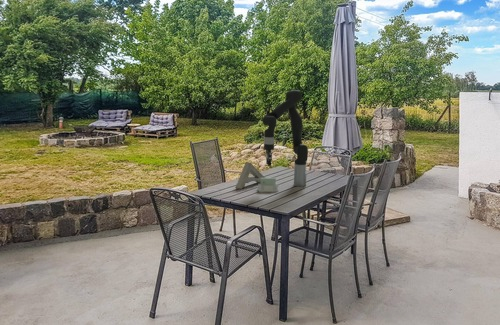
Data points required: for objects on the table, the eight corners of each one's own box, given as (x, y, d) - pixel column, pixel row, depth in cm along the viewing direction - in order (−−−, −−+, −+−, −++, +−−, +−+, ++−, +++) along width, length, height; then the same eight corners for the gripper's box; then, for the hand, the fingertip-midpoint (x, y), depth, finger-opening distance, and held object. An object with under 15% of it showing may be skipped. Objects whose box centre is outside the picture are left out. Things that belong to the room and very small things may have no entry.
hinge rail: (276, 189, 289) (276, 182, 288) (278, 191, 281) (278, 185, 280) (258, 189, 287) (258, 182, 287) (259, 191, 280) (259, 185, 279)
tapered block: (274, 188, 286) (275, 177, 284) (275, 189, 283) (275, 178, 281) (260, 188, 285) (260, 177, 283) (261, 189, 281) (261, 178, 280)
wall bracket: (258, 204, 307) (240, 188, 285) (253, 203, 310) (235, 187, 287) (267, 179, 314) (250, 162, 292) (262, 179, 317) (245, 162, 295)
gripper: (275, 144, 272) (275, 166, 274) (272, 142, 286) (272, 163, 288) (265, 144, 271) (265, 166, 274) (262, 142, 285) (262, 163, 288)
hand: (268, 165), depth 281 cm, fingers open, 8 cm apart
